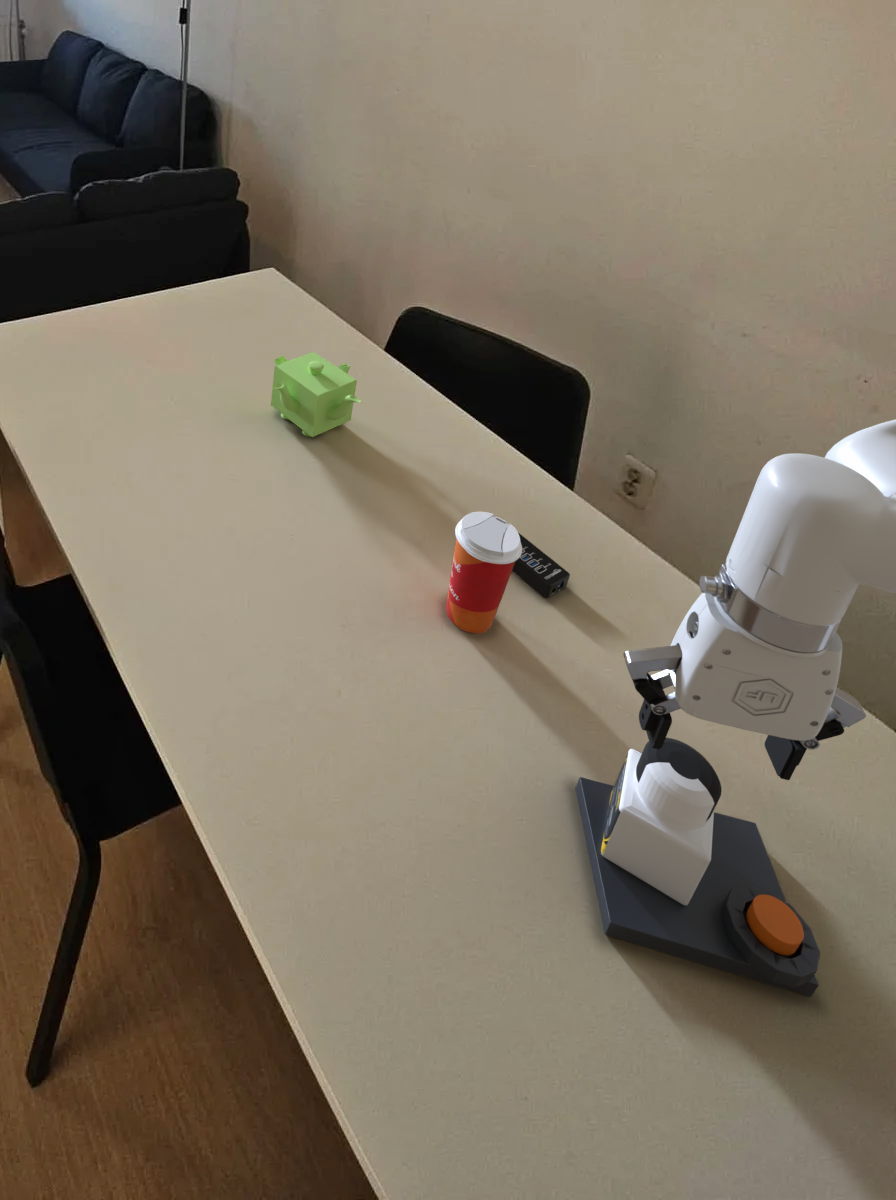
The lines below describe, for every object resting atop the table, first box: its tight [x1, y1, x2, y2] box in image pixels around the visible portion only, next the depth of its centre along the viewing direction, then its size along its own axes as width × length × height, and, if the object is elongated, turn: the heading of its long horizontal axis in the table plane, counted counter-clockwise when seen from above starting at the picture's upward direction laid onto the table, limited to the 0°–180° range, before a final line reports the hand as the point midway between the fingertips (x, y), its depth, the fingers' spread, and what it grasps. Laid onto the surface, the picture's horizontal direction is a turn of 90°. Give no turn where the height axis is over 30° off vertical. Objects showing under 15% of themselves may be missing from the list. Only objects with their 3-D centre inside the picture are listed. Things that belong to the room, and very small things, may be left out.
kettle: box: [270, 351, 362, 438], centre depth 135 cm, size 15×14×11 cm
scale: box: [575, 776, 821, 998], centre depth 72 cm, size 16×14×4 cm
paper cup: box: [445, 511, 522, 634], centre depth 97 cm, size 8×8×14 cm
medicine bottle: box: [601, 737, 722, 906], centre depth 72 cm, size 7×7×12 cm
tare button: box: [747, 894, 804, 956], centre depth 67 cm, size 4×4×2 cm
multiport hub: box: [512, 532, 571, 599], centre depth 108 cm, size 4×11×2 cm, turn 29°
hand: (712, 747), depth 68 cm, fingers open, 9 cm apart
